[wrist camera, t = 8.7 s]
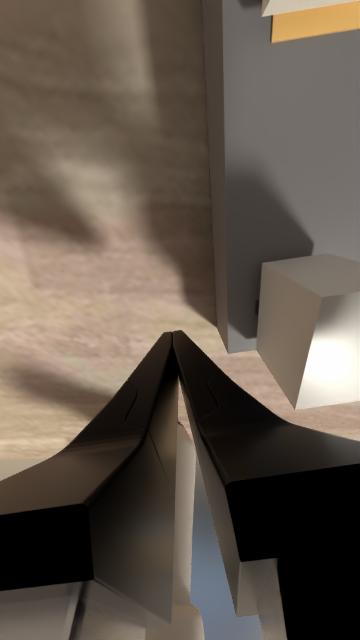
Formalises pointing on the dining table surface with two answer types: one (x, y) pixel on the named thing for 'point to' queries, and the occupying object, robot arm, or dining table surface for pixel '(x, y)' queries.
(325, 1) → the cream fader
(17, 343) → the dining table surface
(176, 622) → the salt shaker
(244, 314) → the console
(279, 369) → the block
